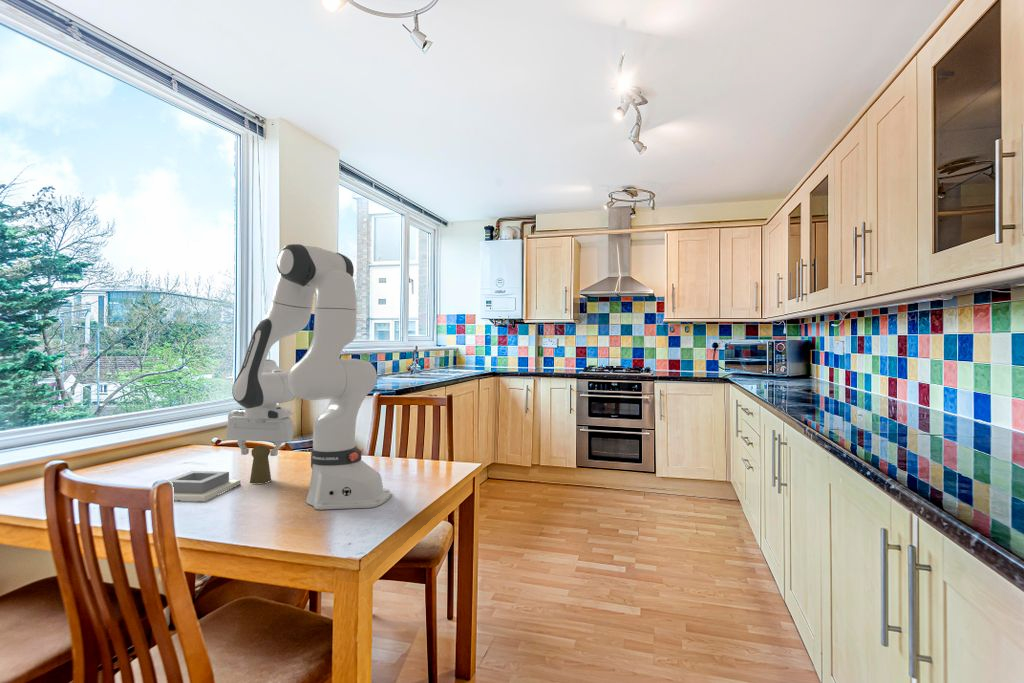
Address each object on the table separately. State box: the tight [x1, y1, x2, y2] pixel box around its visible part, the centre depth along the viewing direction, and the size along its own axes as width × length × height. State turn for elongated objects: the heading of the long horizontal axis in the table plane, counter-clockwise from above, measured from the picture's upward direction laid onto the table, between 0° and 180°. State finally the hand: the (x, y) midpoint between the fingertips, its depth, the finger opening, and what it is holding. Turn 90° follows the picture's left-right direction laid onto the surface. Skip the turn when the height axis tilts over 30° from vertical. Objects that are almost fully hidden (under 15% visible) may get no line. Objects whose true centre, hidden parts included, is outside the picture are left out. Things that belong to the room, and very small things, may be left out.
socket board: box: [168, 470, 241, 502], centre depth 141 cm, size 16×16×4 cm
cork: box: [249, 445, 272, 484], centre depth 152 cm, size 6×6×11 cm
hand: (259, 454), depth 153 cm, fingers open, 8 cm apart
